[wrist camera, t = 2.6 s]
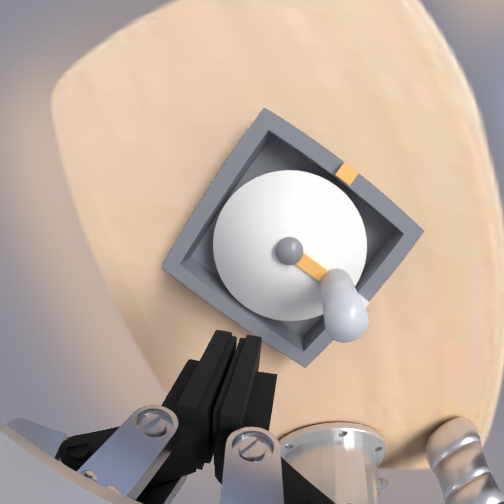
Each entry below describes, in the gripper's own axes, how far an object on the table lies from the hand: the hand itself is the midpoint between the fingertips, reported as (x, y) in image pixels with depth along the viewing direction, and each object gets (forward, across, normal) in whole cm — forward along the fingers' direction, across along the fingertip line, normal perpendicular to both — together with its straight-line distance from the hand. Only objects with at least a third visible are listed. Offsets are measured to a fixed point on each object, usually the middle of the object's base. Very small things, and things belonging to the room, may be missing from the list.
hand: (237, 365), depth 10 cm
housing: (+11, -1, -2) cm, 11 cm away
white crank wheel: (+10, -1, -2) cm, 10 cm away
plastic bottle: (+10, -23, +17) cm, 30 cm away
